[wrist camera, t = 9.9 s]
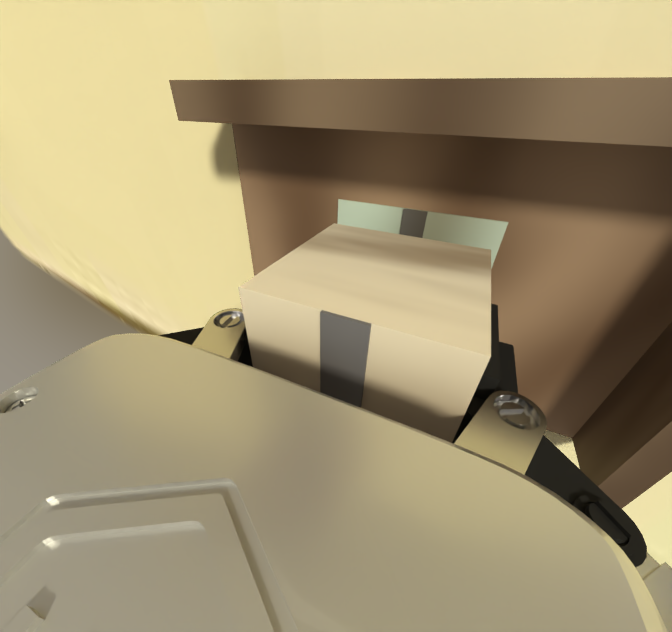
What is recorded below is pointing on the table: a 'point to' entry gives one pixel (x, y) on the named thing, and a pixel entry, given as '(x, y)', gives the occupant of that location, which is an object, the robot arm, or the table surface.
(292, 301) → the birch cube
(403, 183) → the wooden tray
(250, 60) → the table surface
